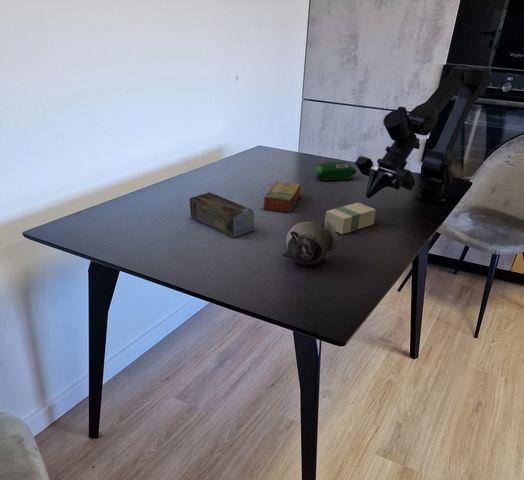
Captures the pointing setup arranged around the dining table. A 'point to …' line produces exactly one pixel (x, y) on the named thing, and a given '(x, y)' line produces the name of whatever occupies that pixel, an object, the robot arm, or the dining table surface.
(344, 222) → the tea box
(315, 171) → the snack package
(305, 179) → the dining table surface
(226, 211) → the beverage carton
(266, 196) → the carton
